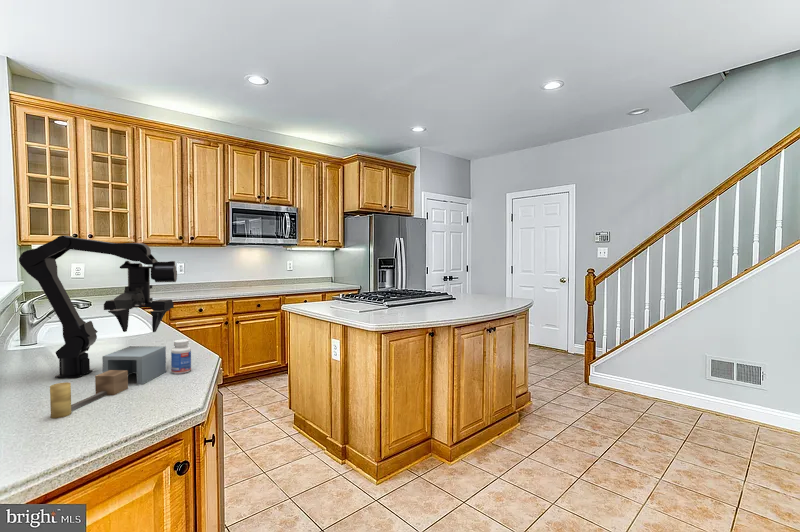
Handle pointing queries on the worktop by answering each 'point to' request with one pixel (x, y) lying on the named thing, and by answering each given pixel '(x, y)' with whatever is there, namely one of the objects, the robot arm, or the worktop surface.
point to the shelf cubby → (138, 361)
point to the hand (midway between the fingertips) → (139, 331)
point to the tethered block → (104, 385)
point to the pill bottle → (181, 357)
